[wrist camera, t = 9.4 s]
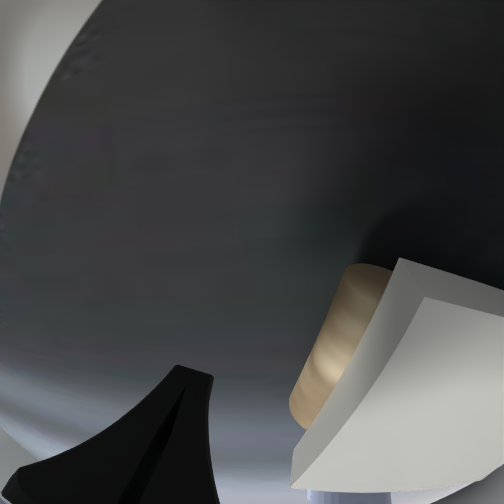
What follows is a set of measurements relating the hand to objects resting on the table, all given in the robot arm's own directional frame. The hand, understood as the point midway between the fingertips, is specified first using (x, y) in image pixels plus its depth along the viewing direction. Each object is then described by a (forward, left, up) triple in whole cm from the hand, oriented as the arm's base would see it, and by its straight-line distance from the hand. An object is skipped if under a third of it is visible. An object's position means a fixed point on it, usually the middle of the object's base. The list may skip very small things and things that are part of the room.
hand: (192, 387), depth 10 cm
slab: (-4, -12, -2) cm, 13 cm away
